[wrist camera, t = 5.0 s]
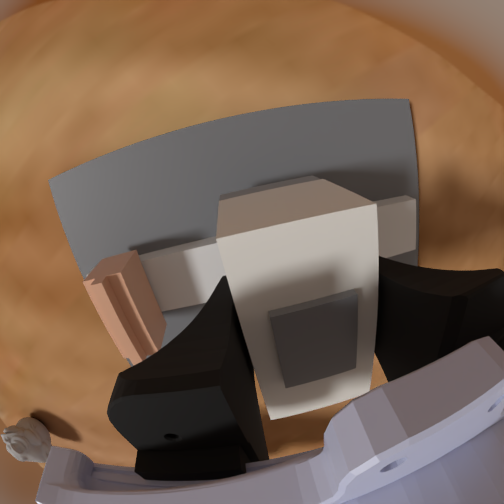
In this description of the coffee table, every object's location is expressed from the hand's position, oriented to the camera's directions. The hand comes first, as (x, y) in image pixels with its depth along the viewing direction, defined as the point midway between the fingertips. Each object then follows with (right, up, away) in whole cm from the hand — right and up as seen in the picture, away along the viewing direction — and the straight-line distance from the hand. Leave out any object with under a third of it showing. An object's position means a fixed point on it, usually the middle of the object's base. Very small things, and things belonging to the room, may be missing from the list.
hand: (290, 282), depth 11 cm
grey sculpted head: (-28, -20, +11) cm, 36 cm away
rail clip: (-8, -1, +2) cm, 8 cm away
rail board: (-1, +2, +4) cm, 5 cm away
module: (0, +1, +2) cm, 2 cm away
